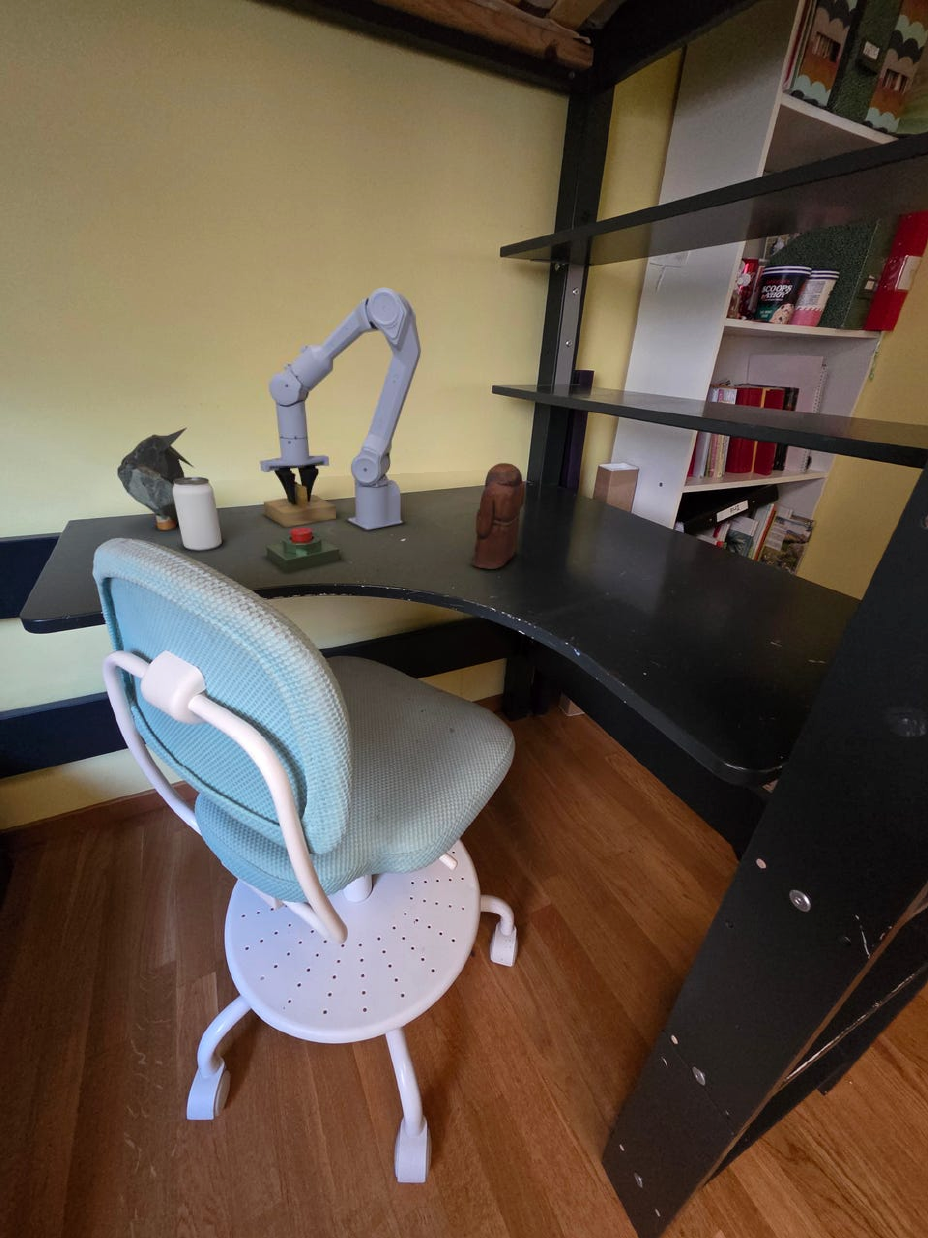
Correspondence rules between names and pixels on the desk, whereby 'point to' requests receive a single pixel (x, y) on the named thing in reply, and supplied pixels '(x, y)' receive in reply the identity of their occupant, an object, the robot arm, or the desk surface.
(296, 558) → the green button base
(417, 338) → the robot arm
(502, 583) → the desk surface
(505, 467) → the wooden figurine
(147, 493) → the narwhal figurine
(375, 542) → the desk surface
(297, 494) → the lock knob
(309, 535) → the bell button
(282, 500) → the plate
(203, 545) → the can
